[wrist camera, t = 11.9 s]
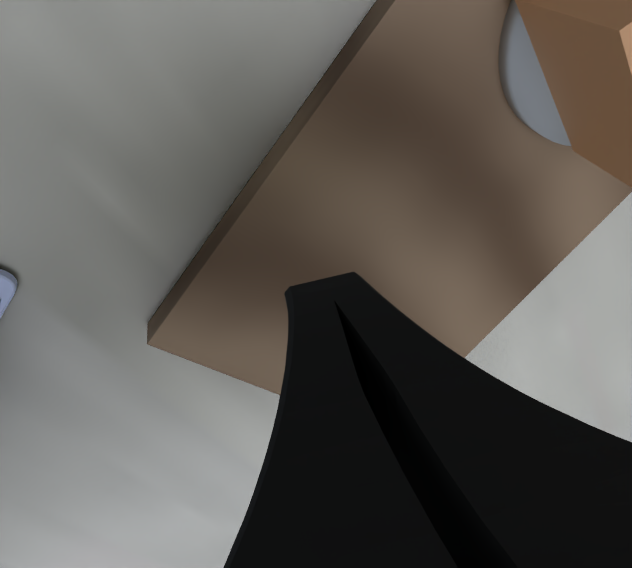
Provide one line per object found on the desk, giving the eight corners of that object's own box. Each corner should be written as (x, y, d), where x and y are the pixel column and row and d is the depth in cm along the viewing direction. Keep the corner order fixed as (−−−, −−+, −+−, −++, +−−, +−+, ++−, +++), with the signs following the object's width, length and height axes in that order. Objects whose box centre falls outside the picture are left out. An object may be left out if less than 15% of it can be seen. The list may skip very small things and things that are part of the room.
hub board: (377, 416, 27) (420, 518, 23) (147, 323, 21) (144, 437, 17) (756, 30, 20) (924, 70, 16) (569, -272, 14) (757, -346, 10)
